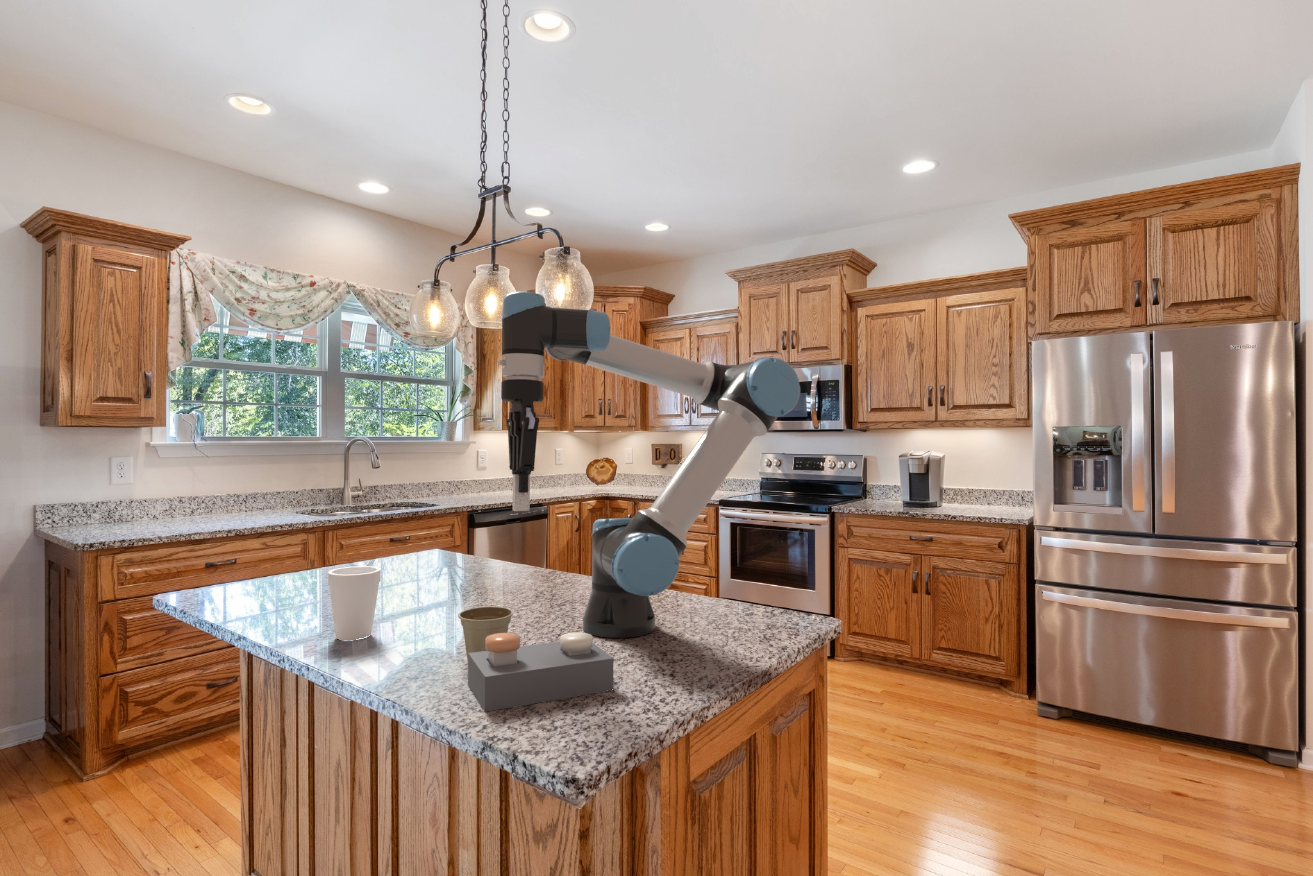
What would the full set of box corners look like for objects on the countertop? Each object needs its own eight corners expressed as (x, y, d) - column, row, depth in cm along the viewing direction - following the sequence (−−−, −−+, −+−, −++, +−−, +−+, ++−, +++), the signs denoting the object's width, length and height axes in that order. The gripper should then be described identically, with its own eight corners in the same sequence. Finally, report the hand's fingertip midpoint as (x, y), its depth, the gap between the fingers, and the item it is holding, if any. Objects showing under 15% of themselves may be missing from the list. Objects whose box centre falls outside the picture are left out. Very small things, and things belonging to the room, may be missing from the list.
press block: (585, 667, 116) (586, 638, 116) (613, 690, 106) (613, 658, 106) (467, 684, 107) (468, 653, 107) (484, 711, 97) (485, 676, 97)
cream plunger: (585, 672, 113) (585, 630, 113) (596, 682, 108) (597, 639, 108) (555, 676, 110) (556, 634, 110) (565, 687, 106) (566, 643, 106)
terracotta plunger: (514, 674, 107) (515, 631, 107) (523, 685, 103) (524, 640, 103) (481, 679, 105) (482, 635, 105) (489, 690, 100) (489, 644, 100)
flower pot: (484, 674, 112) (485, 622, 112) (445, 664, 117) (446, 614, 117) (523, 659, 120) (524, 611, 120) (486, 650, 125) (486, 604, 125)
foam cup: (338, 630, 137) (339, 566, 137) (385, 629, 138) (386, 566, 138) (319, 644, 128) (320, 575, 128) (369, 643, 128) (370, 575, 128)
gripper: (493, 381, 126) (491, 508, 125) (511, 375, 114) (509, 515, 114) (532, 383, 129) (531, 506, 129) (554, 378, 117) (552, 513, 117)
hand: (521, 510), depth 121 cm, fingers closed
